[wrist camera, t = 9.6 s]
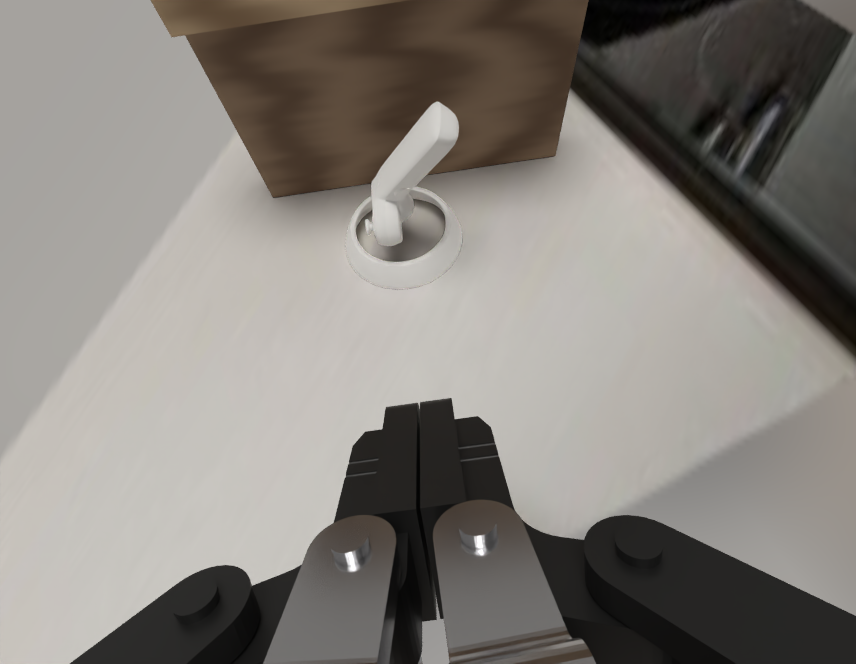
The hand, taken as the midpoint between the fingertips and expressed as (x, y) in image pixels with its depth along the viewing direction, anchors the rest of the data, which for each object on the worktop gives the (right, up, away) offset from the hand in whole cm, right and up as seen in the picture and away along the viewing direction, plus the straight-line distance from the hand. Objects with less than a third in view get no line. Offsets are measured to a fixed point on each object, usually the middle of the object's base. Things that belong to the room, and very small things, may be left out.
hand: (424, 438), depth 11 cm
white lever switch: (-1, +8, +20) cm, 21 cm away
